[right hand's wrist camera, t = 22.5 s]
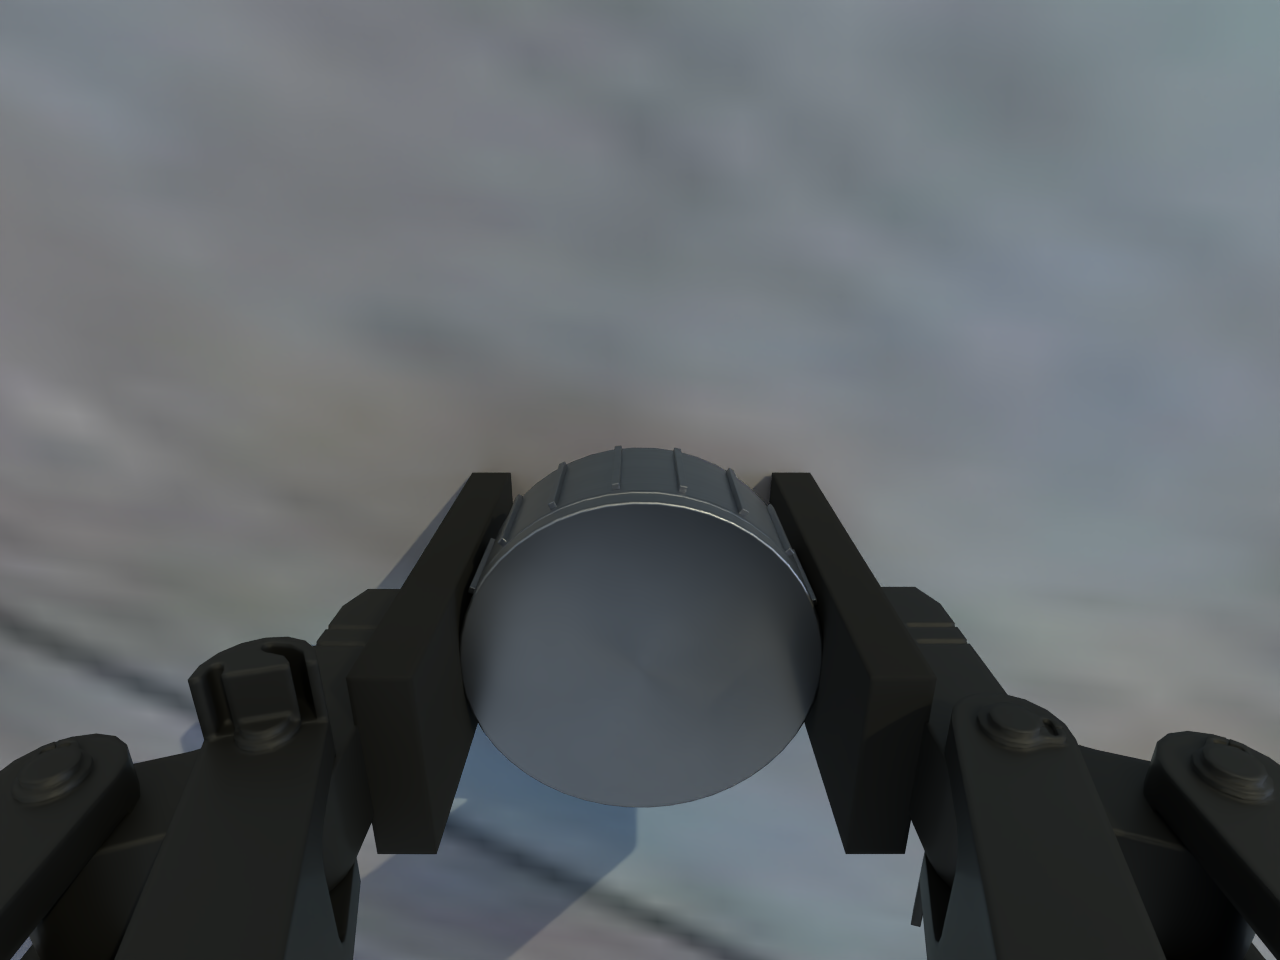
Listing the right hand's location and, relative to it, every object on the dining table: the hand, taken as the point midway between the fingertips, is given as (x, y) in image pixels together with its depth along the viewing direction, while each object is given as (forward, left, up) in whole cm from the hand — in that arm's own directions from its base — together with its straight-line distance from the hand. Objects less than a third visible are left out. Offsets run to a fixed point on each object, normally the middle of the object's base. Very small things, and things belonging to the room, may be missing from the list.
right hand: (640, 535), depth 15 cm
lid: (0, 0, +4) cm, 4 cm away
